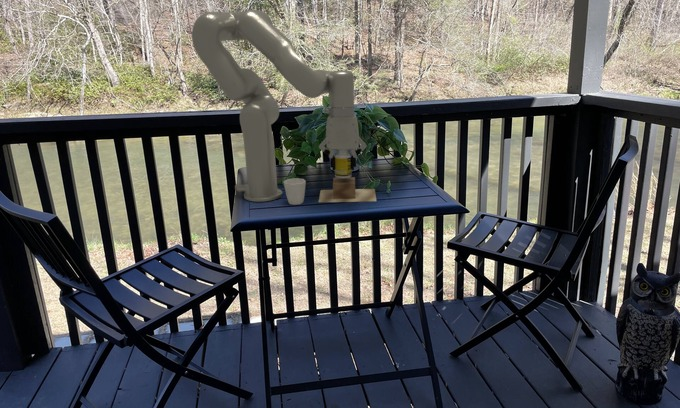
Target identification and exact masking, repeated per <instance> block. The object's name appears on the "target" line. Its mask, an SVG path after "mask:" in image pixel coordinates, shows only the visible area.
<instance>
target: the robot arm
mask: <svg viewBox="0 0 680 408" xmlns="http://www.w3.org/2000/svg"><path fill="white" fill-rule="evenodd" d="M191 40H192V42H191V43H192V46H193V48H194V50H195V52H196V54H197V55H198V57H199V59H200V60H201V62H202V63H203V64H204V65H205V67H206V68H207V70H208V71H209V72H210V73H209V74H211V76H212V78H214V80H215V82H216V83H217V84H218V85H219V87H220V89H221V90H222V92H223V93H224V95H225V96H226V97H227V98H228V99H229V100H231V101H233V102H240V101H241V102H243V104H244V105H243V106H242V108H241V110H240V113H239V124H240V127H241V133H242V138H243V146H244V156H245V158H244V159H245V168H246V178H247V179H246V181H247V183H244V184H235V185H234V190H235V191H237V193H239V192H240V193H241V192H244V193H243V197H244V199H245V200H246V201H249V202H253V203H254V202H259V203H262V202H271V201H275V200H278V199H280V198H281V197H282V196H283V191H282V190H281V189H279V188H278V180H277V169H276V168H277V165H276V152H275V151H276V150H275V140H274V135H273V134H274V133H273V130H272V125H273V124H274V123H275V122H276V121H277V120H278V118H279V116H280V106H279V104H278V102H277V100H276V99H275V97H274V96H273V94H272V93H271V91H270V90H269V89H268V87H267V86H266V84H265V82H264V81H263V80H262V79H261V77H260V76H259V75H258V74H257V73H256V72H255V71H254V70H252V69H250V68H245V67H244V68H242V67H241V66H240V65H239V64H238V62H237V60H235V58H234V56H233V55H232V53H231V52H230V51H229V50H228V49H227V48H226V47H225V46H224V45H223V43H222V42H225V41H226V42H227V41H245V40H246V41H247V42H248V43H249V44H251V45H252V46H253V47H254V48H255V49H256V50H257V51H259V52H260V53H261V54H262V55H263V56H264V57H265V58H266V59H268V60H269V61H270V63H272V64H273V66H274V67H275V69H276V70H277V71H278V72H279V74H280V75H281V76H282V77H283V78H284V79H285V80H286V81H287V82H288V83H289V84H290V85H291V86H292V87H294V89H296V90H297V91H298V92H299V93H300V94H302V95H303V96H304V97H306V98H309V99H310V98H311V99H315V98H319V97H320V96H322V95H326V94H328V97H329V100H328V101H329V107H328V108H324V114H328V116H327V119H326V125H325V126H326V127H325V129H326V130H325V132H326V133H325V138H324V139H323V140H322V141H321V143H320V144H318V149H319V150H320V151H322V152H324V154H325V155H326V156H328V158H329V167H330V168H332V169H331V171H333V172H335V151H337V150H349V151H350V152H351V156H352V158H351V159H352V171H355V168H357V157H358V156H359V155H360V154H362V152H363V151H364V150H365V149H366V148H367V147H368V145H367V143H366V142H364V140H363V139H362V138H361V137H360V131H359V130H360V129H359V122H358V117H357V116H356V115H355V90H354V89H355V88H354V87H355V81H354V79H355V78H354V77H355V76H354V73H353V71H350V70H346V69H345V70H344V69H343V70H332V71H331V70H323V69H315V70H314V69H313V68H311V67H310V66H309V65H307V63H306V62H305V61H303V59H301V58H300V57H299V55H298V53H297V52H296V51H295V48H294V45H293V43H292V40H291V39H289V38H288V37H287V36H286V35H284V33H282V32H281V31H280V30H279V29H278V28H276V26H274V25H273V22H272V19H271V17H270V16H269V15H268V13H267V12H265V11H262V10H259V9H247V10H244V11H232V12H230V11H227V12H225V11H224V12H221V11H219V12H218V11H207V12H205V13H202V14H201V15H199V17H197V19H196V20H195V21H194V24H193V25H192V31H191ZM325 145H326V146H325ZM359 146H360V147H359Z"/></svg>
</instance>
